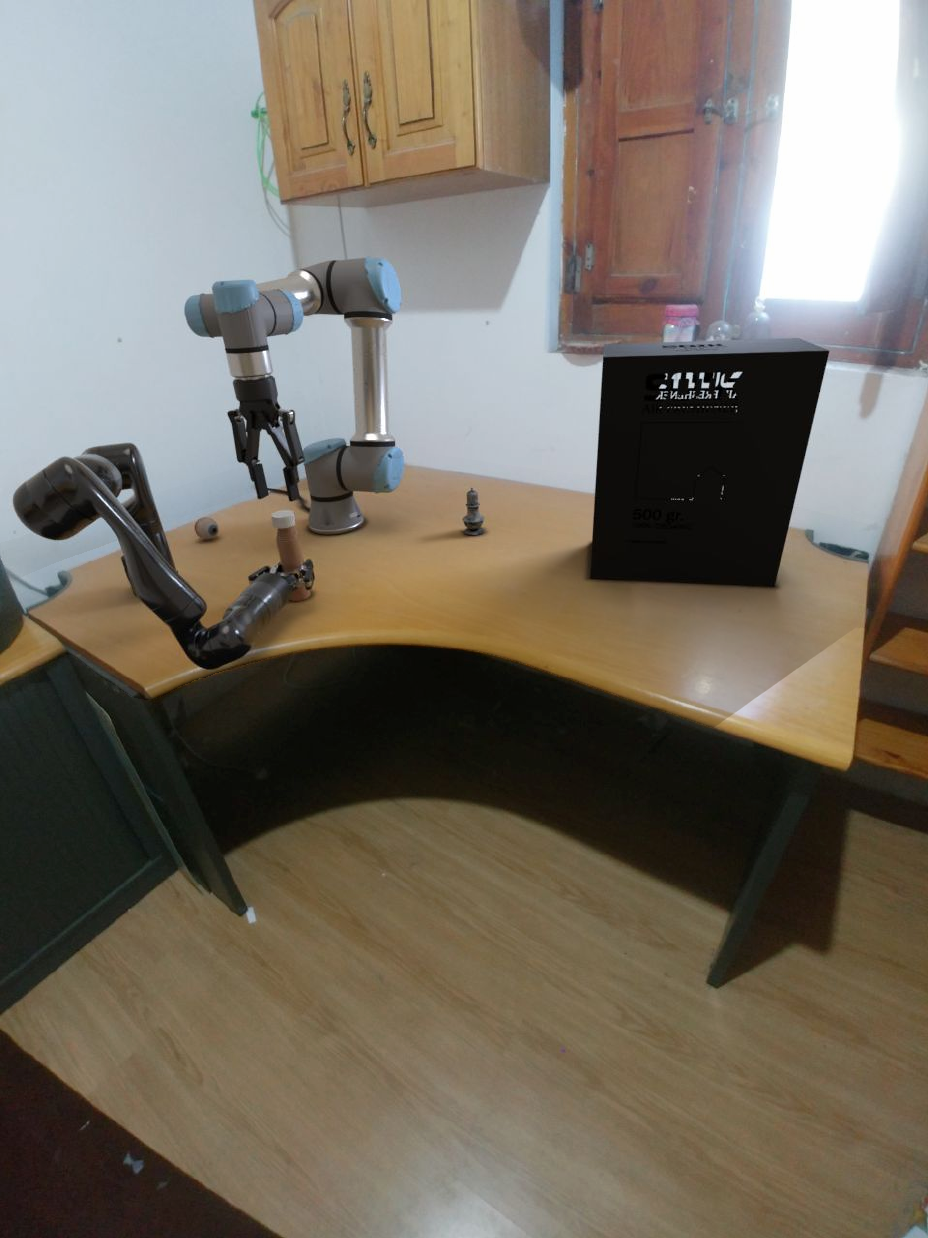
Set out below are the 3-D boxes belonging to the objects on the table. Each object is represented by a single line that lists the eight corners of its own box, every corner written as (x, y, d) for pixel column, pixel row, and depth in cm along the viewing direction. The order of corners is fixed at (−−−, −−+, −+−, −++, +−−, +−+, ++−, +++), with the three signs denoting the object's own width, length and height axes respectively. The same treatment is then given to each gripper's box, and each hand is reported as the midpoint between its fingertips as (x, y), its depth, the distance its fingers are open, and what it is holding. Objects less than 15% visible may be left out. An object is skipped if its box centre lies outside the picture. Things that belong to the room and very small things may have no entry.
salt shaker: (482, 535, 157) (481, 491, 151) (460, 535, 158) (458, 490, 152) (486, 527, 162) (485, 483, 156) (465, 526, 163) (463, 483, 157)
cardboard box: (755, 547, 142) (798, 337, 120) (774, 586, 125) (829, 350, 102) (592, 542, 150) (603, 344, 127) (589, 578, 133) (603, 356, 110)
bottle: (305, 601, 130) (288, 520, 121) (284, 600, 131) (266, 519, 122) (314, 591, 134) (298, 511, 125) (294, 590, 135) (277, 511, 126)
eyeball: (208, 544, 161) (202, 523, 158) (193, 540, 164) (187, 519, 161) (226, 536, 166) (220, 516, 163) (211, 533, 169) (205, 512, 166)
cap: (289, 529, 122) (287, 517, 121) (269, 528, 123) (266, 517, 122) (299, 520, 126) (297, 510, 125) (279, 520, 127) (277, 509, 126)
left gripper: (294, 583, 114) (326, 547, 129) (224, 581, 117) (264, 546, 131) (301, 617, 118) (332, 579, 132) (234, 614, 120) (272, 577, 135)
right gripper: (310, 373, 110) (330, 495, 122) (222, 373, 116) (249, 489, 128) (287, 380, 104) (310, 507, 115) (195, 379, 110) (226, 501, 122)
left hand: (298, 562), depth 132 cm, fingers closed on bottle, 4 cm apart
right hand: (278, 497), depth 122 cm, fingers open, 7 cm apart
